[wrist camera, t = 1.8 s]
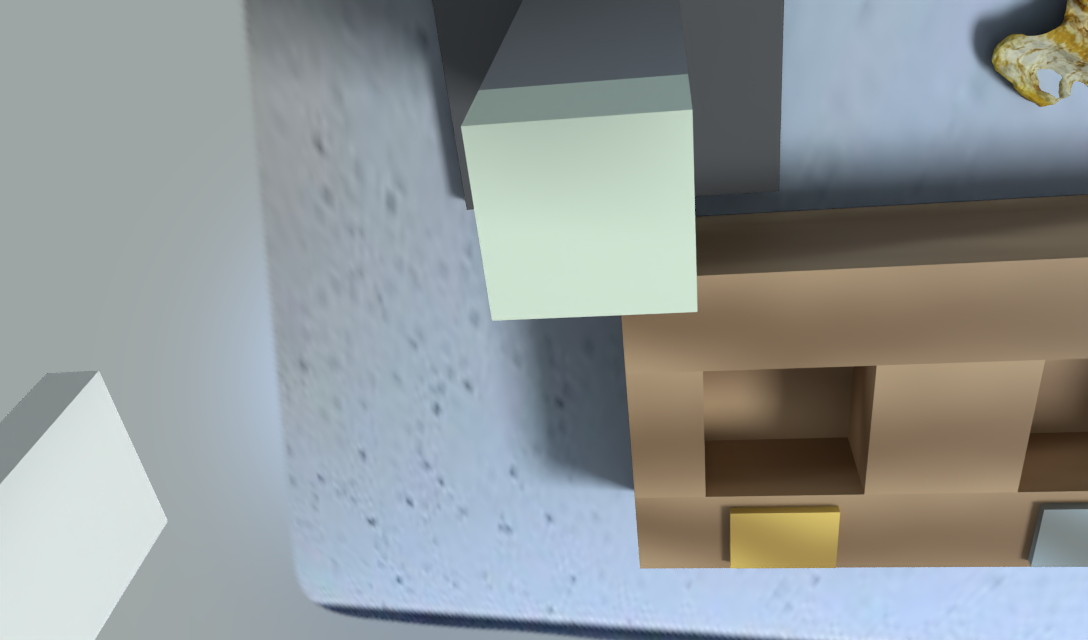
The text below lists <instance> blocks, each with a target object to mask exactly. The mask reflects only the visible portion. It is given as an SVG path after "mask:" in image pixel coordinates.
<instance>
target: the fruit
mask: <svg viewBox="0 0 1088 640" xmlns="http://www.w3.org/2000/svg"><path fill="white" fill-rule="evenodd" d="M992 63H993V65H994V69H995V71H997V72H998V73H1000V74H1001V75H1002V76H1004V77H1005V78H1006V79H1007V80H1009V81H1010V82H1011V83H1012V84H1013V86H1014V89H1015V90H1017V91H1018V93H1019V94H1020V95H1021V96H1022V97H1024V98H1025V99H1026V100H1029V101H1032V102H1034V103H1036V104H1037V105H1038V106H1040V107H1043V106H1047V105H1053V104H1056V102H1058V101H1059V100H1060V99H1062V98H1066V97H1068V96H1070V92H1071V87H1072V84H1073V82H1074V81H1080V82H1082V83H1084V84H1085V85H1087V86H1088V0H1067V7H1066V12H1065V15H1064V20H1063V22H1062V24H1061V25H1060V26H1059V27H1057V28H1056V29H1054V30H1052V31H1050V32H1048V33H1045V34H1042V35H1037V36H1026V35H1023V34H1011V35H1009V36H1007V37H1006V38H1005V39H1003V40H1002V41H1001V42H1000V43H998V44H997V45H996V46H995V48H994V51H993V54H992ZM1039 69H1052V70H1054V71H1055V72H1056V73H1058V74H1060V75H1061V76H1062V79H1061V81H1060V83H1059V96H1060V98H1057V99H1055V97H1054V96H1052V95H1051V94H1049V93H1046V92H1043V91H1041V90H1040V88H1039V80H1038V78H1037V70H1039Z"/></svg>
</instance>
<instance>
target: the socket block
mask: <svg viewBox="0 0 1088 640" xmlns="http://www.w3.org/2000/svg"><path fill="white" fill-rule="evenodd" d="M695 231H696V272H697V312H685V313H662V314H638V315H621V320H622V333H623V346H624V360H625V373H626V386H627V400H628V413H629V426H630V440H631V453H632V466H633V480H634V493H635V506H636V520H637V533H638V546H639V560H640V568H836V567H1088V195H1071V196H1054V197H1036V198H1018V199H1000V200H982V201H965V202H947V203H929V204H911V205H893V206H876V207H858V208H840V209H822V210H804V211H787V212H769V213H751V214H733V215H715V216H698V217H695Z"/></svg>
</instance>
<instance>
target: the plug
mask: <svg viewBox="0 0 1088 640" xmlns="http://www.w3.org/2000/svg"><path fill="white" fill-rule="evenodd" d="M461 130H462V136H463V142H464V149H465V155H466V161H467V167H468V174H469V180H470V186H471V192H472V199H473V205H474V211H475V217H476V223H477V230H478V236H479V242H480V248H481V255H482V261H483V267H484V273H485V280H486V286H487V292H488V298H489V305H490V311H491V317H492V321H496V320H519V319H543V318H567V317H591V316H614V315H638V314H662V313H685V312H697V272H696V231H695V191H694V151H693V111H692V102H691V94H690V86H689V77H688V69H687V61H686V53H685V45H684V37H683V29H682V21H681V13H680V5H679V0H523V1H522V3H521V5H520V7H519V9H518V11H517V13H516V15H515V17H514V19H513V21H512V23H511V25H510V27H509V29H508V31H507V34H506V36H505V38H504V40H503V42H502V44H501V46H500V48H499V50H498V52H497V54H496V56H495V58H494V60H493V62H492V64H491V66H490V68H489V70H488V72H487V74H486V76H485V78H484V80H483V82H482V84H481V86H480V88H479V90H478V93H477V95H476V97H475V99H474V101H473V103H472V105H471V107H470V109H469V111H468V113H467V115H466V117H465V119H464V121H463V123H462V125H461Z"/></svg>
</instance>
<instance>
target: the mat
mask: <svg viewBox="0 0 1088 640" xmlns="http://www.w3.org/2000/svg"><path fill="white" fill-rule="evenodd" d="M432 1H433V7H434V13H435V19H436V25H437V31H438V37H439V44H440V50H441V56H442V62H443V68H444V74H445V80H446V86H447V92H448V98H449V104H450V110H451V116H452V122H453V128H454V135H455V141H456V147H457V153H458V159H459V165H460V171H461V177H462V183H463V189H464V195H465V201H466V207H467V210H470V209H474V205H473V199H472V192H471V186H470V180H469V174H468V167H467V161H466V155H465V149H464V142H463V136H462V130H461V125H462V123H463V121H464V119H465V117H466V115H467V113H468V111H469V109H470V107H471V105H472V103H473V101H474V99H475V97H476V95H477V93H478V90H479V88H480V86H481V84H482V82H483V80H484V78H485V76H486V74H487V72H488V70H489V68H490V66H491V64H492V62H493V60H494V58H495V56H496V54H497V52H498V50H499V48H500V46H501V44H502V42H503V40H504V38H505V36H506V34H507V31H508V29H509V27H510V25H511V23H512V21H513V19H514V17H515V15H516V13H517V11H518V9H519V7H520V5H521V3H522V1H523V0H432ZM679 5H680V13H681V21H682V29H683V37H684V45H685V53H686V61H687V69H688V77H689V86H690V94H691V102H692V111H693V151H694V191H695V196H707V195H724V194H741V193H758V192H775V191H779V169H780V131H781V93H782V56H783V18H784V0H679Z"/></svg>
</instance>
